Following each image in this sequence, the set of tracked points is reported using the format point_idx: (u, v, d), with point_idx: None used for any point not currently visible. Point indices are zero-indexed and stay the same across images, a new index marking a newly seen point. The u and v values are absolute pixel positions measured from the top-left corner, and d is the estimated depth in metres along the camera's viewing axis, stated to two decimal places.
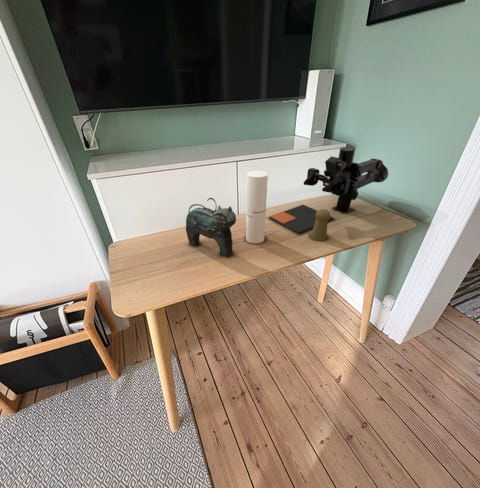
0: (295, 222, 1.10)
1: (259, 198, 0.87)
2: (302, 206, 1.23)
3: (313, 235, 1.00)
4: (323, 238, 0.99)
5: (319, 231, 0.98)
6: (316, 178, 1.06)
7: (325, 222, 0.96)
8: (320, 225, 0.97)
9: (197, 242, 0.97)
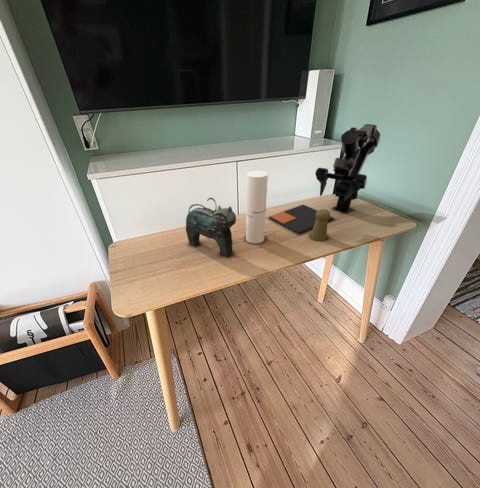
0: (295, 222, 1.10)
1: (259, 198, 0.87)
2: (302, 206, 1.23)
3: (313, 235, 1.00)
4: (323, 238, 0.99)
5: (319, 231, 0.98)
6: (327, 177, 1.01)
7: (325, 222, 0.96)
8: (320, 225, 0.97)
9: (197, 242, 0.97)
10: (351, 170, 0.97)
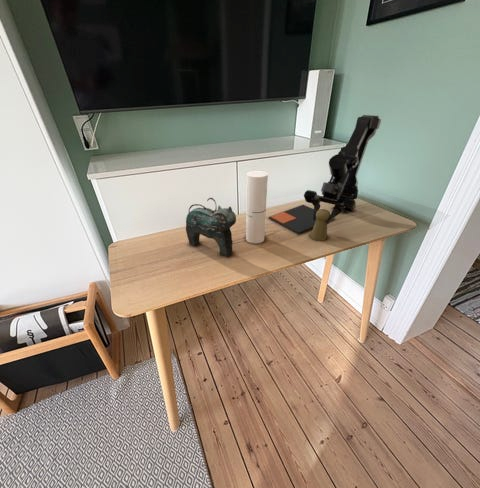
0: (295, 222, 1.10)
1: (259, 198, 0.87)
2: (302, 206, 1.23)
3: (313, 235, 1.00)
4: (323, 238, 0.99)
5: (319, 231, 0.98)
6: None
7: (325, 222, 0.96)
8: (320, 225, 0.97)
9: (197, 242, 0.97)
10: (340, 193, 0.95)
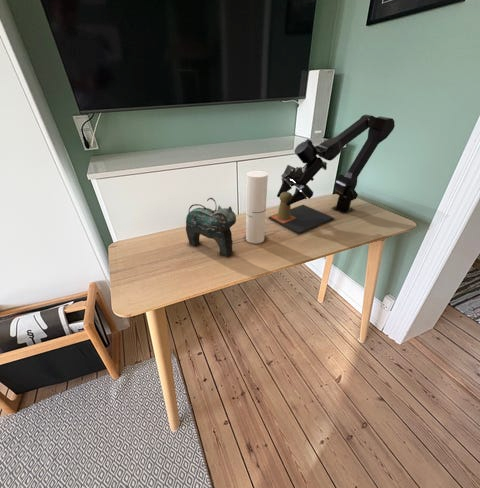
0: (295, 222, 1.10)
1: (259, 198, 0.87)
2: (302, 206, 1.23)
3: None
4: (283, 218, 1.11)
5: (280, 210, 1.10)
6: (290, 182, 1.10)
7: (285, 203, 1.07)
8: (280, 205, 1.09)
9: (197, 242, 0.97)
10: (306, 179, 1.03)
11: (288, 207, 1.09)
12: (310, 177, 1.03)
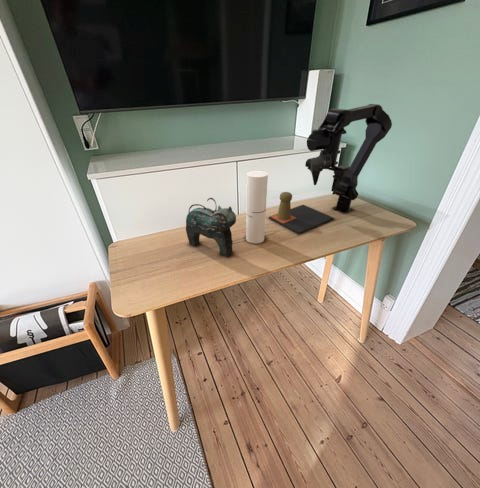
0: (295, 222, 1.10)
1: (259, 198, 0.87)
2: (302, 206, 1.23)
3: None
4: (283, 218, 1.11)
5: (280, 210, 1.10)
6: None
7: (285, 203, 1.07)
8: (280, 205, 1.09)
9: (197, 242, 0.97)
10: (334, 159, 0.99)
11: (288, 207, 1.09)
12: (337, 153, 0.98)
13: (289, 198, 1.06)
